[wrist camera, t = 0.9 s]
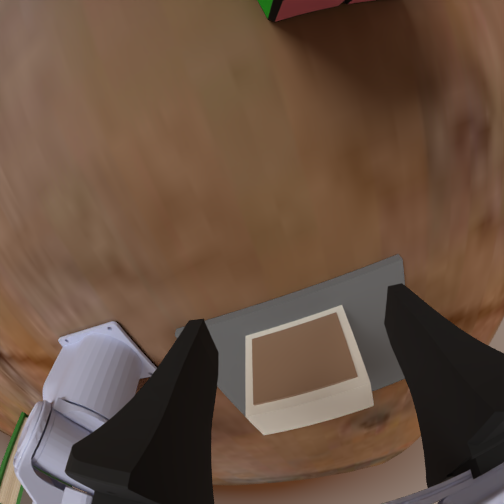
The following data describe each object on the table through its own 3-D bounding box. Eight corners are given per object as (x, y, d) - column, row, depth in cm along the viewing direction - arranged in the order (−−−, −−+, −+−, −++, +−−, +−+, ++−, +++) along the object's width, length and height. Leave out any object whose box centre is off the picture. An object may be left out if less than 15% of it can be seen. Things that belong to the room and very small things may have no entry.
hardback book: (22, 411, 40) (-10, 499, 19) (46, 421, 40) (16, 516, 19) (57, 447, 48) (37, 521, 27) (80, 455, 49) (62, 533, 28)
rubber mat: (252, 418, 34) (252, 423, 33) (176, 328, 25) (174, 335, 25) (405, 372, 30) (407, 377, 29) (398, 254, 22) (402, 259, 21)
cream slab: (260, 359, 26) (263, 435, 19) (244, 334, 25) (244, 415, 18) (349, 331, 25) (373, 405, 18) (341, 303, 23) (370, 381, 16)
